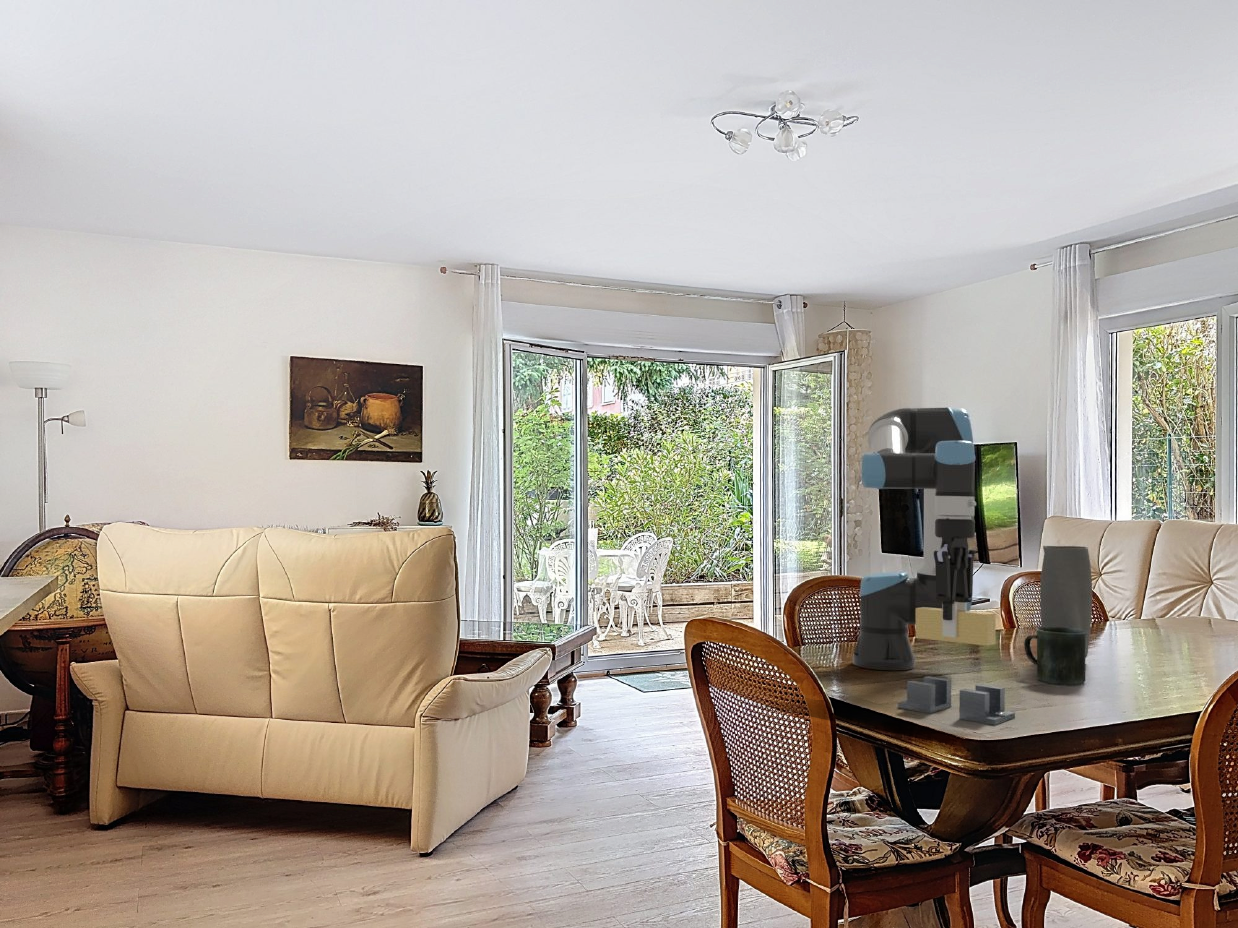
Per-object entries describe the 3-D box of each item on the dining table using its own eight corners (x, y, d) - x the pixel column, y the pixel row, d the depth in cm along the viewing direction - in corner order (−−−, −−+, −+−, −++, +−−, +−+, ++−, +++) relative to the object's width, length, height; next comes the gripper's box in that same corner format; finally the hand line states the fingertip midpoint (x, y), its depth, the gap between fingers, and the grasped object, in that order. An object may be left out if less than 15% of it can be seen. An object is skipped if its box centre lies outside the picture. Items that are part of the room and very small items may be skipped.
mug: (1071, 688, 220) (1071, 634, 220) (1012, 677, 232) (1012, 626, 232) (1096, 682, 226) (1096, 631, 227) (1037, 672, 238) (1037, 623, 238)
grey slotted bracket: (897, 707, 198) (898, 680, 198) (919, 701, 204) (919, 674, 204) (930, 713, 193) (930, 685, 193) (951, 706, 199) (951, 679, 199)
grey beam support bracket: (959, 718, 188) (959, 690, 189) (979, 711, 195) (979, 683, 195) (995, 725, 184) (995, 695, 184) (1014, 717, 190) (1014, 689, 190)
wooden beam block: (915, 637, 199) (915, 608, 199) (924, 636, 201) (923, 606, 201) (987, 645, 188) (987, 614, 188) (995, 643, 190) (995, 612, 191)
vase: (1089, 668, 245) (1089, 548, 246) (1036, 663, 251) (1036, 546, 252) (1095, 661, 255) (1095, 546, 256) (1044, 657, 262) (1044, 544, 263)
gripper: (953, 518, 187) (953, 641, 186) (991, 518, 199) (990, 634, 198) (917, 517, 192) (916, 637, 191) (955, 517, 204) (955, 630, 203)
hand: (954, 635), depth 195 cm, fingers closed on wooden beam block, 3 cm apart
